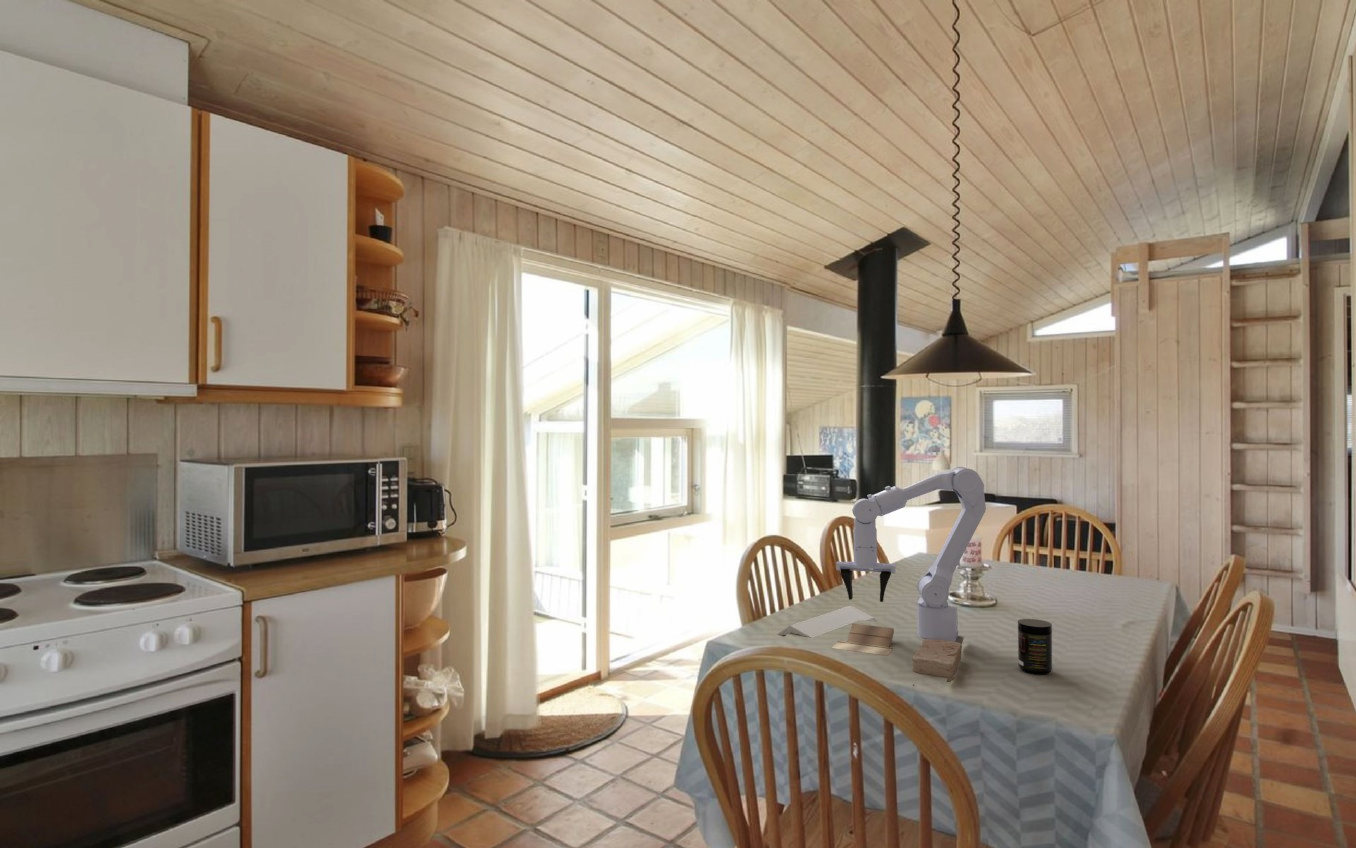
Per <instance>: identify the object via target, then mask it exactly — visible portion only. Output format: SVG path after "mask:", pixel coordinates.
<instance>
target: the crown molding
mask: <svg viewBox="0 0 1356 848" xmlns="http://www.w3.org/2000/svg"><path fill="white" fill-rule="evenodd" d="M858 621H859V622H860V621H866V622H867V621H869V622H877V619H876V618H875V616H872V615H870V614H868V613H866V612H864V611H863V610H860V609H858V608H856V607H854V606H852V605H847V606H844V607H842V608H839V609H836V610H832V611H829V612H827V613H826V612H825V613H823V614H821V615H818V616H814V617H812V618H808V619H804V620H803V621H799V622H796V623H793V624H791V625H788V626H787V627H786V628H785V629H783V630H781V631H780V632H779V633H778V634H777V635H779V636H782V635H783V636H787V635H788V634H795V635H800V636H803V637H805V638H811V639H812V638H815V637H819V636H821V635H823V634H826V633H828V632H831V631H834V630H837V629H841V628H842V627H845V626H847V625H850V624H851V625H852V624H855V623H856V622H858Z"/></svg>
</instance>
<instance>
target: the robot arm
mask: <svg viewBox="0 0 1356 848" xmlns="http://www.w3.org/2000/svg"><path fill="white" fill-rule="evenodd" d="M937 490H943V491H951V492H952V491H953V492H954V493H955V494H956V496H957V498H958V500H959V502H960V504H961V507H962V508H961V511H960V513H959V514H958V516H957V518H956V520H955V523H954V524H953V526H952V528H951V530H950V532H949V534H948V536H947V537H946V540H945V542H944V544H943V546H942V547H941V549H940V550H939V553H938V555H937V557H936V559H935V561H934V562H933V564H932V565H931V566H930V567H929V568H928V570H927V572H926V573H924V574H923V575H922V576H921V577H919V579H918V581H917V586H916V588H917V591H918V593H919V595H921V596H920V598H919V599H917V636H919V637H920V638H922V639H929V640H933V639H934V640H943V641H945V640H946V641H954V642H957V638H958V637H959V629H958V628H959V627H958V623H959V622H958V620H959V619H958V607H956V606H951V605H949V603H948V600H949V597H950V593H949V590H950V587H951V585H952V582H953V577H954V572H955V570H956V569H957V567H958V565H959V563H960V561H961V559H962V557H963V555H964V553H965V551H966V549H967V547H968V546H969V543H970V542H971V540H972V538H973V537H974V534H975V532H976V531H977V529H978V526H979V525H980V523H981V521H982V518H983V517H984V515H985V513H986V510H987V509H986V508H987V506H986V505H987V504H986V499H985V483H984V482H983V480H982V478H981V476H980V474H979V473H978V472H977V471H976V470H975V469H974V470H973V469H971V468H967V467H964V466H956V467H954V468H952V469H946V470H944V471H940V472H937V473H935V474H932V475H930V476H927V477H926V478H923V479H921V480H919V481H916V482H914V483H912V484H910V485H907V486H905V487H902V488H901V487H898V486H895V485H894V486H892V487H891V486H890V485H887V486H885V487H884V490H882V491H880V492H877V493H875V494H871V493H870V494H867V498H860V499H858V500H856V501H855V503H854V504H853V505H852V506H853V507H852V509H851V512H852V515H853V516H854V520H853V526H854V527H853V561H836V562H835V565H836V567H835V568H836V569H835V570H836V571H840V572H839V573H840V574H839V575H840V577H841V578H842V581H843V583H844V586H845V589H846V592H847V597H848V600H850V601H851V600H853V598H854V597H853V595H854V594H853V571H854V572H867V573H868V572H869V573H871V572H872V573H874V572H875V573H879V588H880V589H879V590H880V591H879V602H880V603H883V602H884V599H885V597H884V596H885V592H886V587H887V585H888V582H889V579H890V578H891V576H892V574H893V575H894V574H896V564H891V563H883V562H881V563H880V562H878V538H877V537H878V534H877V533H878V532H877V531H878V530H877V527H876V525H877V524H876V520H877V518H878V517H883V516H885V515H888V514H891V513H893V512H895V511H898V510H900V509H903V508H905V506H906V505H907V502H908V501H909V500H912V499H915V498H918V497H920V496H923V495H925V494H929V493H931V492H934V491H937Z"/></svg>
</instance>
